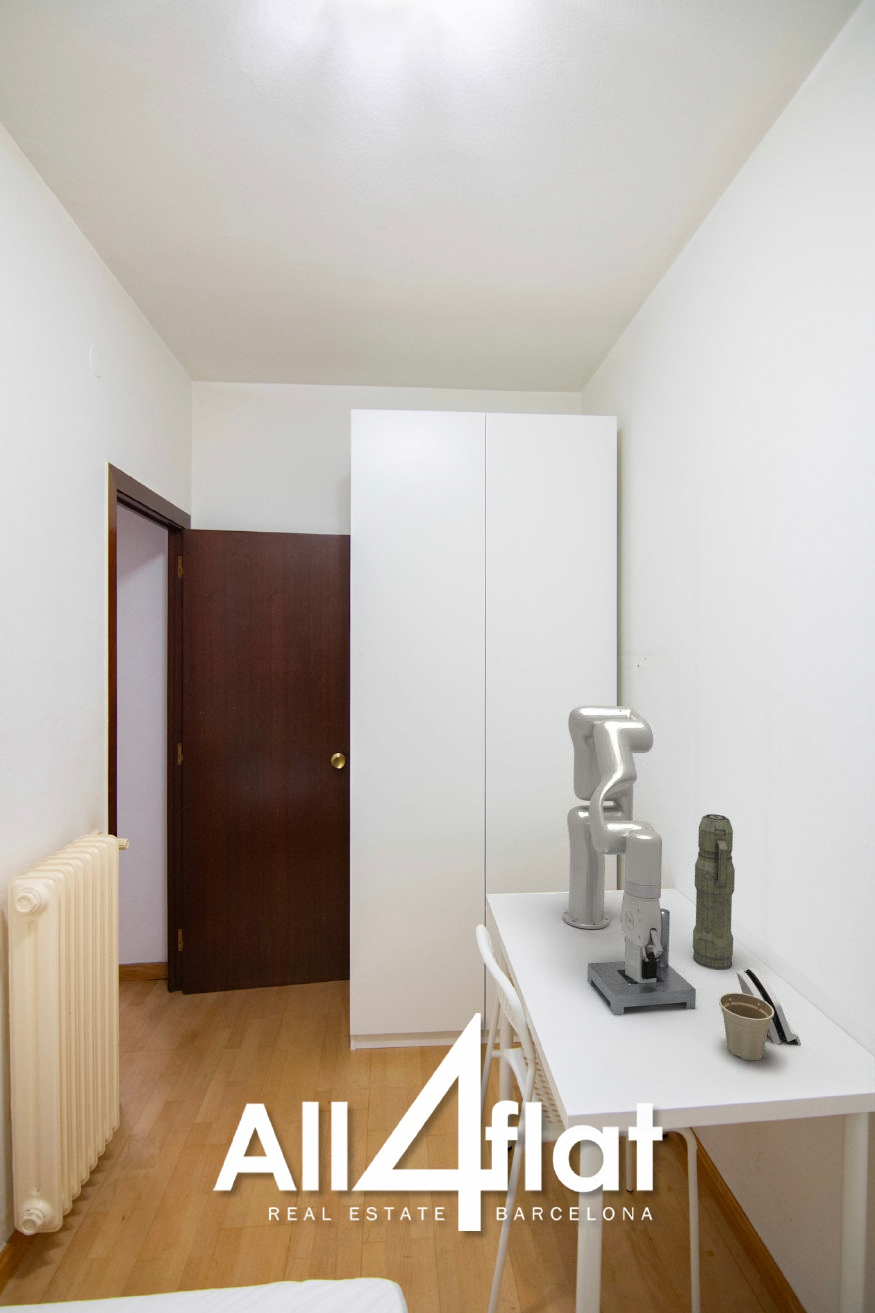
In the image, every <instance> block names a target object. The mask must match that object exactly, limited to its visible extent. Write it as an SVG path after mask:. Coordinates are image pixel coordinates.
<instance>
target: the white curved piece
mask: <svg viewBox="0 0 875 1313" xmlns="http://www.w3.org/2000/svg"><path fill="white" fill-rule="evenodd" d="M736 976H737V979H738V982H739V983H738V984H739V985H740V989H741V991H742V992H741V993H744V994H749V995H752V996H755V997H758V998H760V999H762V1000H764V1001H765V1002H767V1003H768V1004H769V1005H770V1006H771V1007H772V1008H773V1010H774V1016H773V1017H772V1018H771V1022H770V1023H769V1025H768V1031H767V1035H768V1036H769V1038H770V1039H771V1041H772V1043H773V1044H774V1045H775V1044H776V1045H779V1044H782V1041H783V1040H784V1041H787V1042H788V1043H789V1042H791V1041H793V1040H794V1041H795V1042H796V1044H797V1045H798V1046H802V1043H801V1039H800V1036H799V1035H798V1034H797V1033H796V1030H794V1029H793V1027H792V1026H791V1025H790V1023H789V1022H788V1020H787V1018H786V1016H785V1013H784V1010H783V1007H782V1004H781V1003H780V1000H779V999H778V997H777V996H776V994H775V992H774V990H773V989H772V988H771V986H770V984H769V983H768V982H767V980H766V979H765V978H764V976H763V975H762V974H761V973H760V971H759V970H758V969H756V968H755V967H748V968H747V969H746V970H742V969H740V970H739V971H736Z"/></svg>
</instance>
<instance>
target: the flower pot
mask: <svg viewBox="0 0 875 1313" xmlns="http://www.w3.org/2000/svg"><path fill="white" fill-rule="evenodd" d="M718 1004H719V1006H720V1010H721V1013H722V1015H723V1024H724V1029H725V1030H724V1031H725V1040H726V1047H727V1049H728V1051H729V1052H730V1053H731V1054H732V1055H733V1056H738V1057H740V1058H741V1059H743V1060H747V1061H758V1060H760V1059H761V1058H762V1057H763V1056H764V1054H765V1048H766V1041H767V1035H768V1033H767V1031H768V1025H769V1023H770V1022H771V1018H772V1017H773V1016H774V1010H773V1008H772V1007H771V1006H770V1005H769V1004H768V1003H767V1002H765V1001H764V1000H762V999H760V998H758V997H755V996H752V995H749V994H744V993H743V992H727V993H724V994H722V995H720V996H719V998H718Z"/></svg>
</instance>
